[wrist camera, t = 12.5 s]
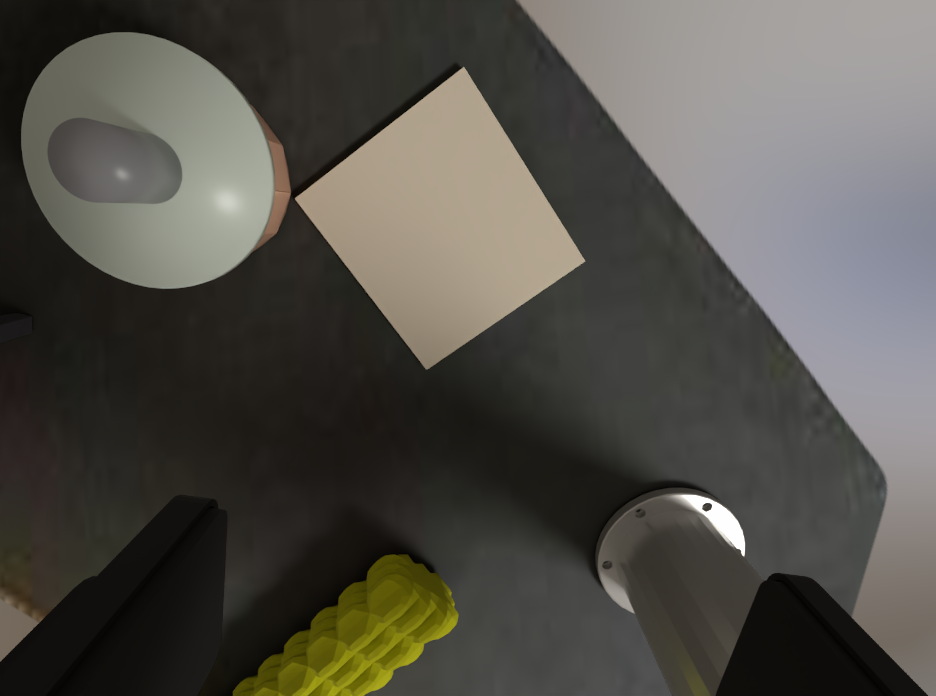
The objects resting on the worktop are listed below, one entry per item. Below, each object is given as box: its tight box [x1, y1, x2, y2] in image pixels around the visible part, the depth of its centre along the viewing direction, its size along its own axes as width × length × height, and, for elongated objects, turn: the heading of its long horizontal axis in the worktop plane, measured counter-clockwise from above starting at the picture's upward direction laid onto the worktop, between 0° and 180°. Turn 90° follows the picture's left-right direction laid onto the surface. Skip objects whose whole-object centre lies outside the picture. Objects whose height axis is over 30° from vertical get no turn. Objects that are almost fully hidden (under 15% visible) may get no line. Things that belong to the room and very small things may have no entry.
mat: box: [295, 67, 585, 370], centre depth 34 cm, size 15×14×1 cm
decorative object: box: [233, 554, 458, 696], centre depth 41 cm, size 7×33×7 cm, turn 135°
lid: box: [21, 32, 275, 289], centre depth 24 cm, size 13×13×5 cm
